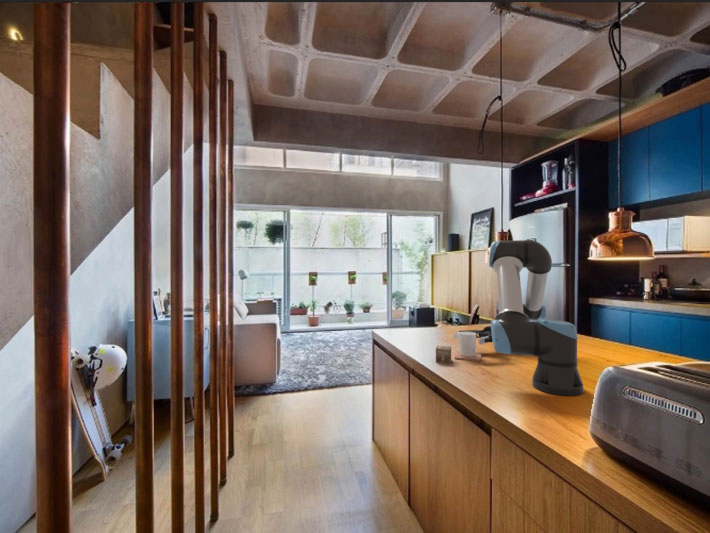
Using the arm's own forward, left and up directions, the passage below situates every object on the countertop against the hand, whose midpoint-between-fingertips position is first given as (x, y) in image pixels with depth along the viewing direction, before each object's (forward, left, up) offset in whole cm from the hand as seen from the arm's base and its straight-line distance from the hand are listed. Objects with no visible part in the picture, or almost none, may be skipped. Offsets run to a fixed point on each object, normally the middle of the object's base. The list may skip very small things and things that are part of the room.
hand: (466, 338), depth 159 cm
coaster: (+1, -1, -8) cm, 8 cm away
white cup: (+1, 0, -8) cm, 8 cm away
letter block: (-9, +9, -9) cm, 16 cm away
